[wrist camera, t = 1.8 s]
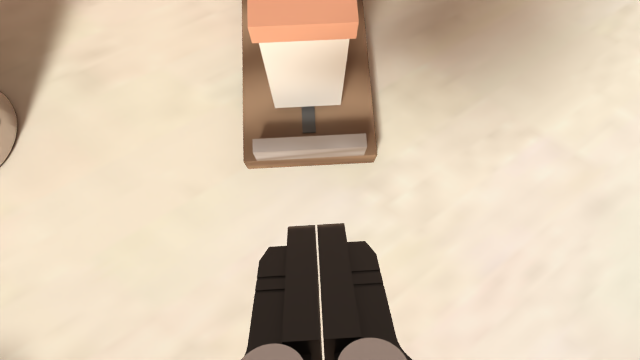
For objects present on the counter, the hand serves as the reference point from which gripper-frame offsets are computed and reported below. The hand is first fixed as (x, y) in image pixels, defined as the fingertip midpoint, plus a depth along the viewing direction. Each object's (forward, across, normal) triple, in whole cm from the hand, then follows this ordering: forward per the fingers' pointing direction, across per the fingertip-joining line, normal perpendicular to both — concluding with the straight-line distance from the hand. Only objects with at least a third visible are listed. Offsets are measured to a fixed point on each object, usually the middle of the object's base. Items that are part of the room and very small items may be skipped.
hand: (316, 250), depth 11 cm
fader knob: (+22, 0, +2) cm, 22 cm away
